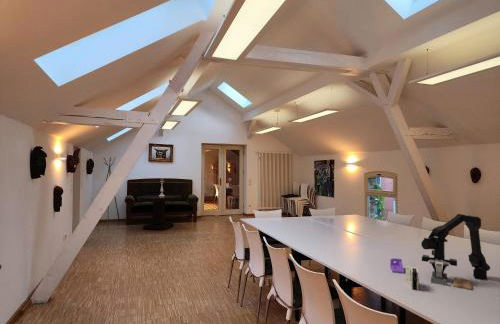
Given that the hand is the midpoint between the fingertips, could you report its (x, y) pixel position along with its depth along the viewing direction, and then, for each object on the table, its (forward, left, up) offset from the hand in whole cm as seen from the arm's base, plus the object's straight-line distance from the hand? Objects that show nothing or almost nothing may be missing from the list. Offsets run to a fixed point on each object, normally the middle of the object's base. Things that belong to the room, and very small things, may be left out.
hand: (439, 274), depth 199 cm
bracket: (+25, -6, -4) cm, 26 cm away
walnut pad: (-12, 0, -4) cm, 13 cm away
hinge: (+13, +20, -4) cm, 24 cm away
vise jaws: (0, 0, -4) cm, 4 cm away
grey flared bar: (0, 0, -2) cm, 2 cm away
